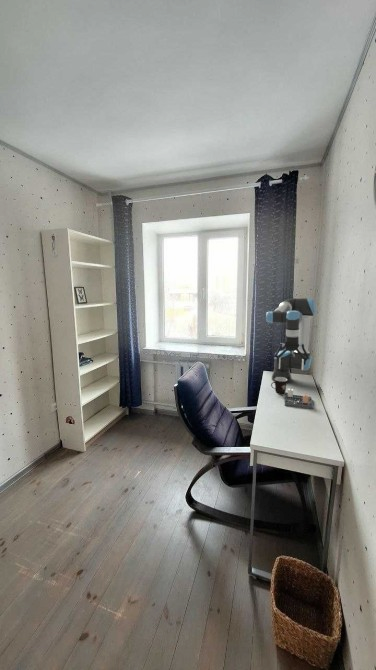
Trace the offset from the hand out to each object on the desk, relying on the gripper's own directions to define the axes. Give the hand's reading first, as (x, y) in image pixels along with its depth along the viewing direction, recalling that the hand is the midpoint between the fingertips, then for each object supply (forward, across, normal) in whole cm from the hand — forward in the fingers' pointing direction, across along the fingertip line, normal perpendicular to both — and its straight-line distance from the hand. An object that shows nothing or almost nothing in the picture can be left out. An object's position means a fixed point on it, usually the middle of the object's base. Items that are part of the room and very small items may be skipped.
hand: (290, 368), depth 171 cm
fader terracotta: (+21, +9, -2) cm, 23 cm away
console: (+23, +5, +2) cm, 24 cm away
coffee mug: (+24, -7, +15) cm, 29 cm away
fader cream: (+21, +1, +5) cm, 21 cm away
